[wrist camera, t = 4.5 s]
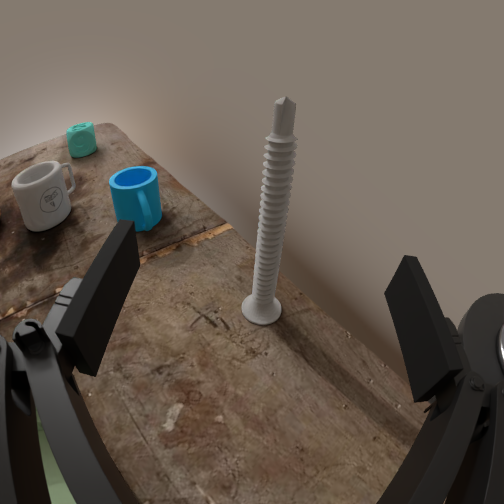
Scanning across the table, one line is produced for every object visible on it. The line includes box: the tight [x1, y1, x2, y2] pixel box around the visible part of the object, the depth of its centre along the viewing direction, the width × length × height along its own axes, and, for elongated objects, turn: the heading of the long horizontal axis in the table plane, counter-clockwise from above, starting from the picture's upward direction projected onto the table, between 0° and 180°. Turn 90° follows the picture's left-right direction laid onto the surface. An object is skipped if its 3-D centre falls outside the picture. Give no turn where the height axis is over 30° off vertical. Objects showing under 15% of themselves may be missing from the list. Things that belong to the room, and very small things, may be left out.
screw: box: [242, 97, 297, 325], centre depth 30 cm, size 5×26×5 cm
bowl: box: [36, 409, 76, 504], centre depth 16 cm, size 17×17×7 cm
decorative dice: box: [67, 122, 97, 158], centre depth 73 cm, size 8×8×8 cm
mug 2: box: [109, 166, 162, 232], centre depth 48 cm, size 12×8×8 cm
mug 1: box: [12, 161, 75, 231], centre depth 49 cm, size 14×11×10 cm
